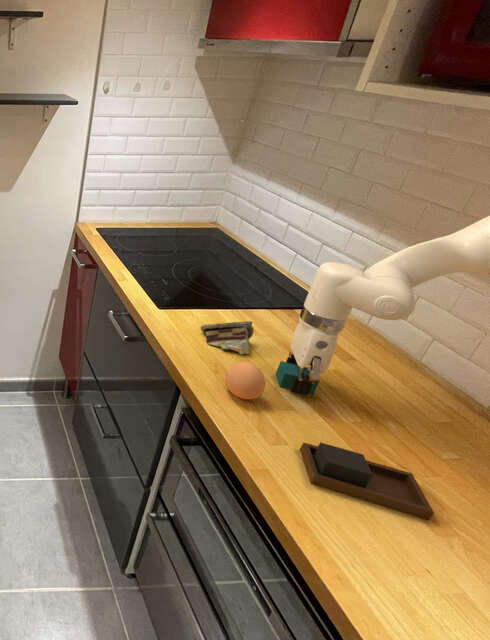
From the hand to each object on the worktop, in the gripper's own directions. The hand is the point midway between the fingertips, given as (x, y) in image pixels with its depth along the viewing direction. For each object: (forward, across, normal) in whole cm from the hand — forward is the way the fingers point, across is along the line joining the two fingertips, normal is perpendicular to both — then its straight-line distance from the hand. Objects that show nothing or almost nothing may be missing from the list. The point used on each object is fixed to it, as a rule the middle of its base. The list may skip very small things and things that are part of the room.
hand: (294, 382), depth 103 cm
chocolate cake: (+1, +10, +13) cm, 16 cm away
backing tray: (+1, -25, -5) cm, 26 cm away
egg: (+1, -9, +12) cm, 15 cm away
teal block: (+1, 0, 0) cm, 1 cm away
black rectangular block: (0, -25, -2) cm, 25 cm away
